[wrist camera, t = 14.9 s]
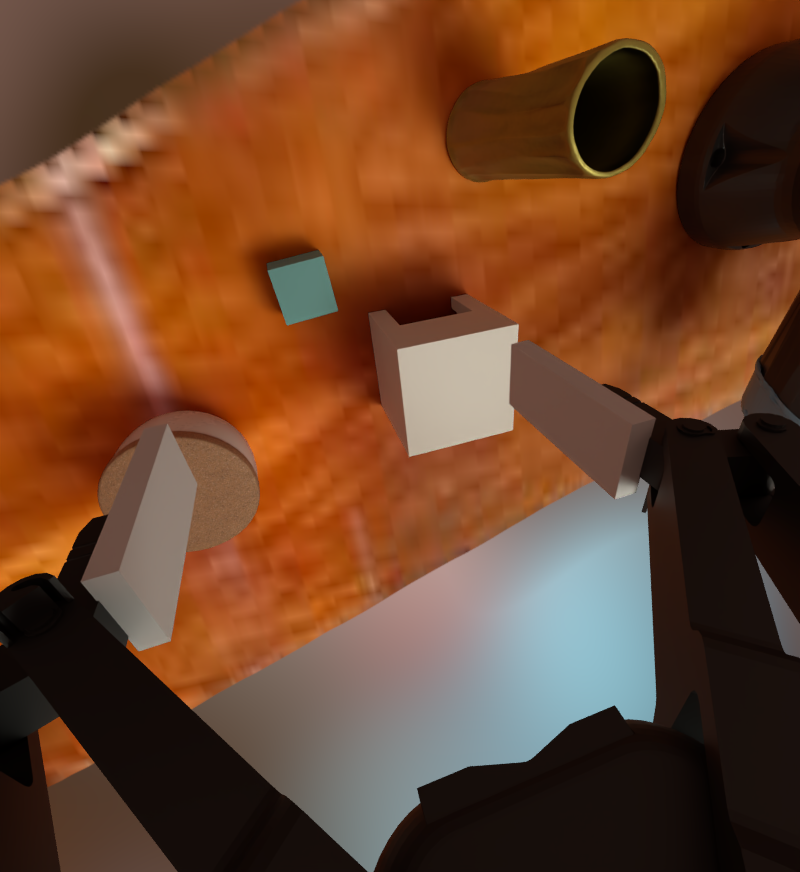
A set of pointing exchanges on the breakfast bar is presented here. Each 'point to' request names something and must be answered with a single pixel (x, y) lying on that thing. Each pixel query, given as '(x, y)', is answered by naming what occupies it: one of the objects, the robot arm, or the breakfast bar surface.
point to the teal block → (302, 287)
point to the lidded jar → (200, 475)
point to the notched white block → (445, 375)
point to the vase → (561, 117)
